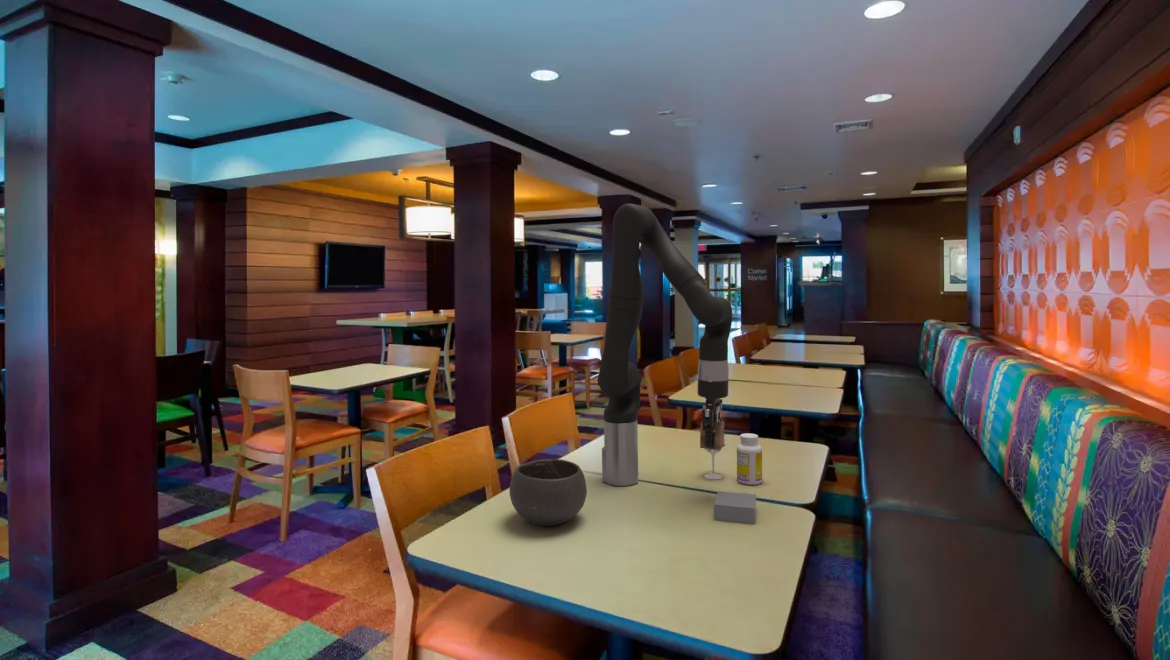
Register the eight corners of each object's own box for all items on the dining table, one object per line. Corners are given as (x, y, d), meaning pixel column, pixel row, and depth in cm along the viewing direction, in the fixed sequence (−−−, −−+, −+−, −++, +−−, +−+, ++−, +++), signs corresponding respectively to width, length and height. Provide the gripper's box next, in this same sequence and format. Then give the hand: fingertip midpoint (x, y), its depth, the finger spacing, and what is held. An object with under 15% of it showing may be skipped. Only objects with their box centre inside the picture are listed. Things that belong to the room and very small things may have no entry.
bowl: (543, 500, 152) (542, 452, 151) (602, 515, 141) (601, 463, 140) (494, 525, 137) (492, 471, 136) (556, 543, 127) (554, 486, 126)
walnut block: (700, 447, 149) (700, 424, 148) (704, 442, 154) (704, 419, 153) (720, 450, 147) (720, 426, 146) (723, 444, 152) (724, 421, 151)
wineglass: (707, 470, 172) (706, 430, 171) (729, 475, 168) (729, 433, 167) (696, 477, 166) (696, 435, 165) (719, 482, 162) (719, 438, 161)
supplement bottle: (759, 477, 165) (759, 432, 164) (764, 485, 159) (764, 438, 158) (735, 477, 166) (735, 432, 165) (738, 485, 159) (738, 438, 158)
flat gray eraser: (714, 521, 138) (714, 504, 137) (717, 506, 146) (717, 491, 146) (754, 525, 135) (754, 508, 134) (756, 510, 143) (756, 494, 143)
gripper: (703, 371, 157) (703, 435, 158) (691, 381, 143) (690, 450, 145) (733, 373, 154) (731, 438, 155) (723, 383, 141) (721, 453, 142)
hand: (711, 443), depth 150 cm, fingers closed on walnut block, 5 cm apart
